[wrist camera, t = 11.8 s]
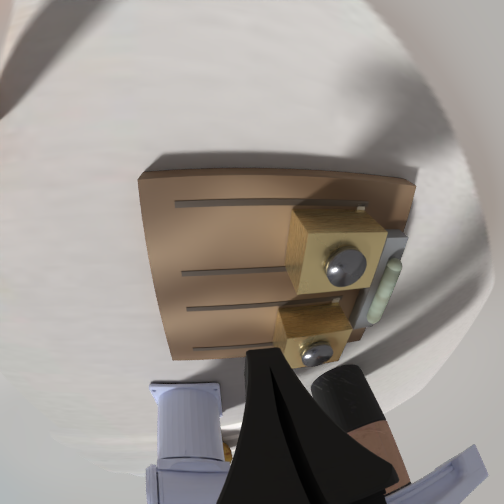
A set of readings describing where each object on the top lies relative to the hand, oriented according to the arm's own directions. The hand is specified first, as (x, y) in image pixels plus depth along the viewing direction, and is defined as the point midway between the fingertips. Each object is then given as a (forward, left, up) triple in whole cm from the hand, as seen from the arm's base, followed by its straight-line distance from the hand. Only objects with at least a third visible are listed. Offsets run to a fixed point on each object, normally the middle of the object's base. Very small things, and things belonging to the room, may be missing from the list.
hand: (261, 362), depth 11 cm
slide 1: (+2, -6, -8) cm, 10 cm away
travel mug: (-21, -13, -10) cm, 27 cm away
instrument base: (-2, -3, -9) cm, 10 cm away
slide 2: (-6, -6, -8) cm, 11 cm away
